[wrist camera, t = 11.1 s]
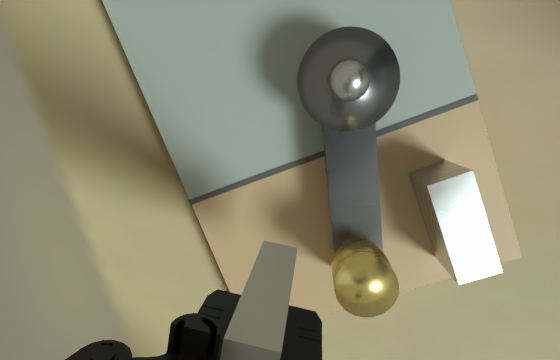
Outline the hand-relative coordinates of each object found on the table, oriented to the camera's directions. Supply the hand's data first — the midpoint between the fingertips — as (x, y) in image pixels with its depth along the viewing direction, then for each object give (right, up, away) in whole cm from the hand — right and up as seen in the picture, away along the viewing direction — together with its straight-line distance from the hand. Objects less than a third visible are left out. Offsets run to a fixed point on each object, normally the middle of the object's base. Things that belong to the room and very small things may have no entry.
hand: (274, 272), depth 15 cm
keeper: (+9, +2, +4) cm, 10 cm away
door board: (+2, +9, +4) cm, 10 cm away
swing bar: (+4, +5, +3) cm, 7 cm away
